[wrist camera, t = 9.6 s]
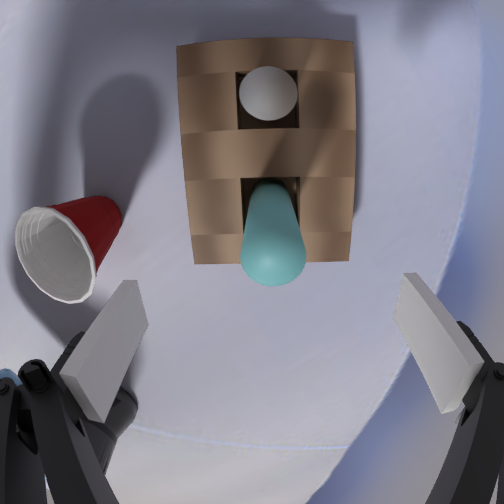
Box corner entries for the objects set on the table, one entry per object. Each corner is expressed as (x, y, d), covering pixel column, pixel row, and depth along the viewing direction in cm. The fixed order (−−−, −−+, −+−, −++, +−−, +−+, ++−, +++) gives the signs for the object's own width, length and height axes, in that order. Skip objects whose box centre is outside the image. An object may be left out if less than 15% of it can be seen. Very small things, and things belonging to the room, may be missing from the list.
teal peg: (251, 213, 33) (242, 286, 19) (250, 177, 31) (238, 227, 18) (288, 212, 33) (305, 285, 19) (288, 176, 31) (307, 225, 17)
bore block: (203, 244, 36) (180, 295, 26) (189, 56, 26) (154, 30, 16) (338, 242, 35) (364, 291, 25) (340, 52, 26) (374, 25, 16)
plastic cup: (67, 242, 36) (15, 285, 25) (75, 167, 32) (11, 193, 21) (132, 268, 38) (91, 323, 27) (148, 191, 33) (98, 227, 22)
